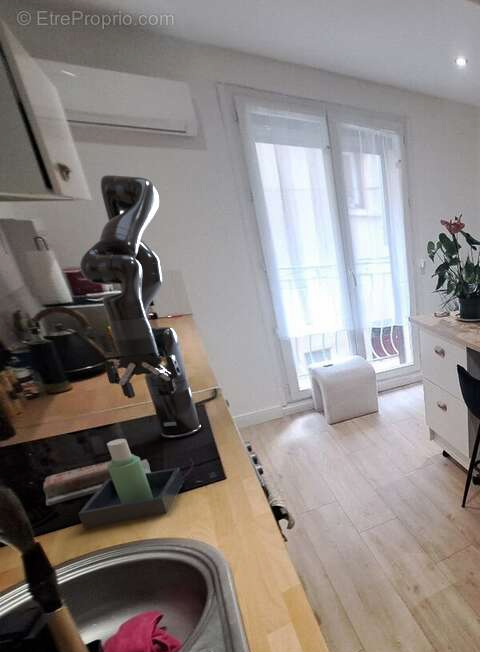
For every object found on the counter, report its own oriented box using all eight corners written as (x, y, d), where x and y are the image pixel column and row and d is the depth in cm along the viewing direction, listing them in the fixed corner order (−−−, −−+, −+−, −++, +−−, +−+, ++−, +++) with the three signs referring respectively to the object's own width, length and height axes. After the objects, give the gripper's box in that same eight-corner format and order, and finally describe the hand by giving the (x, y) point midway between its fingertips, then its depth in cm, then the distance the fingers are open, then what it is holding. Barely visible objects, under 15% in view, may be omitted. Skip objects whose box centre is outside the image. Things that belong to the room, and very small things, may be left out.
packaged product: (39, 490, 90) (41, 472, 97) (47, 508, 92) (48, 489, 99) (147, 461, 103) (143, 447, 109) (153, 478, 105) (148, 463, 111)
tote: (112, 495, 97) (106, 479, 96) (184, 483, 103) (179, 467, 101) (85, 531, 86) (77, 513, 84) (167, 515, 92) (161, 498, 90)
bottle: (128, 499, 95) (105, 438, 90) (156, 494, 98) (136, 434, 92) (119, 512, 91) (94, 449, 85) (149, 506, 93) (127, 445, 88)
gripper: (173, 331, 110) (189, 387, 115) (105, 335, 105) (124, 394, 110) (162, 336, 104) (179, 396, 109) (88, 340, 99) (110, 403, 104)
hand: (151, 395), depth 110 cm, fingers open, 8 cm apart
